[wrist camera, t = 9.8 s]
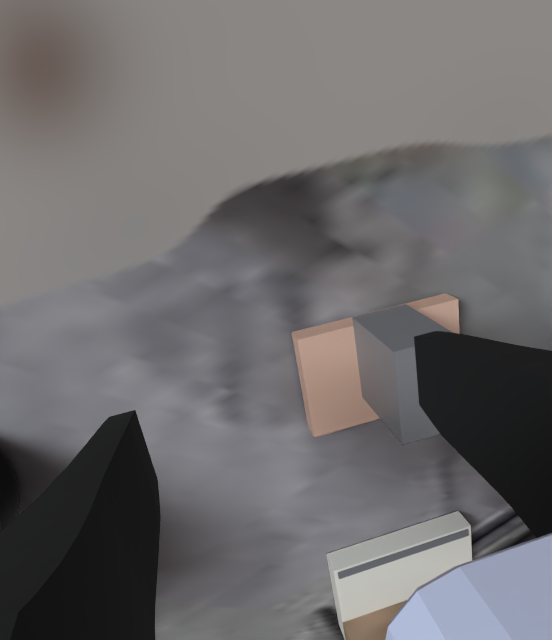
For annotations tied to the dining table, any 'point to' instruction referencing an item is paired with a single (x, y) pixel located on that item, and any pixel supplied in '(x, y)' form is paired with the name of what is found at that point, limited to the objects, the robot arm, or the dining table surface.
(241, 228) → the dining table surface
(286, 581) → the dining table surface
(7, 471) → the supplement bottle
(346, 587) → the board
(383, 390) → the grey and peach block
